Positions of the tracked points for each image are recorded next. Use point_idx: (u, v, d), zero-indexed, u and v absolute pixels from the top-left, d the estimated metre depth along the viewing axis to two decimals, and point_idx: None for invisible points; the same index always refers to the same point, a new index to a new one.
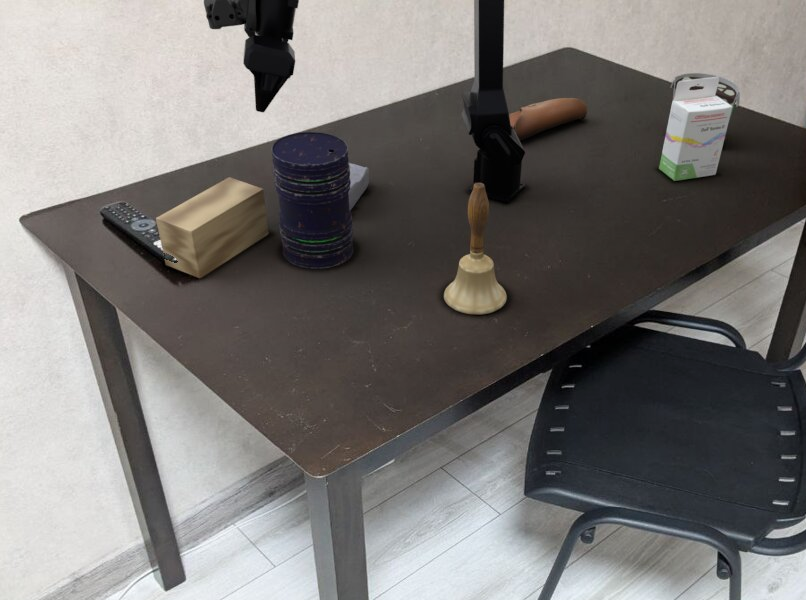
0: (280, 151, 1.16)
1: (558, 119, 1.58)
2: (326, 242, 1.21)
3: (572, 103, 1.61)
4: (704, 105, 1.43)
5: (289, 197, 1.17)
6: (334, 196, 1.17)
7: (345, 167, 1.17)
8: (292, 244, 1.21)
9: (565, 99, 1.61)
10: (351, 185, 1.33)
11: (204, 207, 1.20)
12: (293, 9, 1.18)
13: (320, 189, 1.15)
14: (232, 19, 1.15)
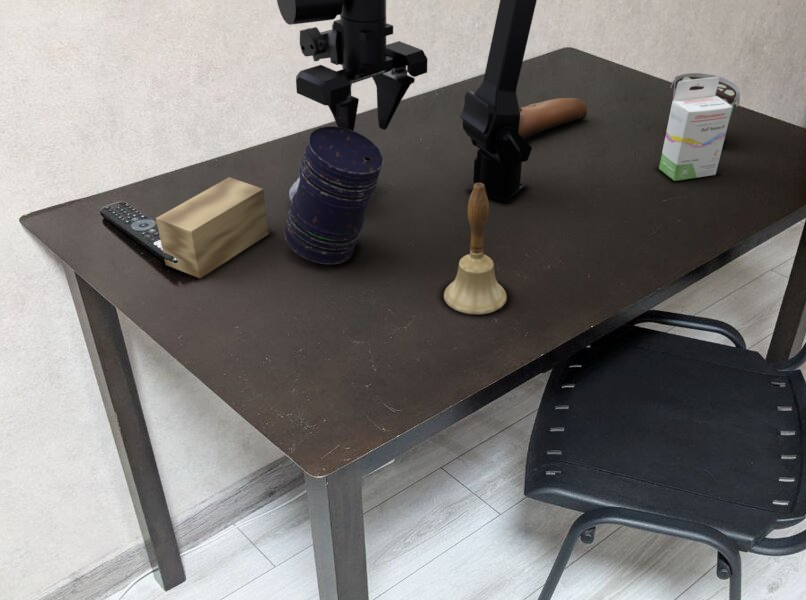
0: (317, 145, 1.14)
1: (558, 119, 1.58)
2: (335, 241, 1.21)
3: (572, 103, 1.61)
4: (704, 105, 1.43)
5: (314, 192, 1.15)
6: (358, 203, 1.17)
7: (376, 178, 1.17)
8: (300, 234, 1.20)
9: (565, 99, 1.61)
10: None
11: (204, 207, 1.20)
12: (369, 43, 1.13)
13: (348, 195, 1.15)
14: (313, 50, 1.16)
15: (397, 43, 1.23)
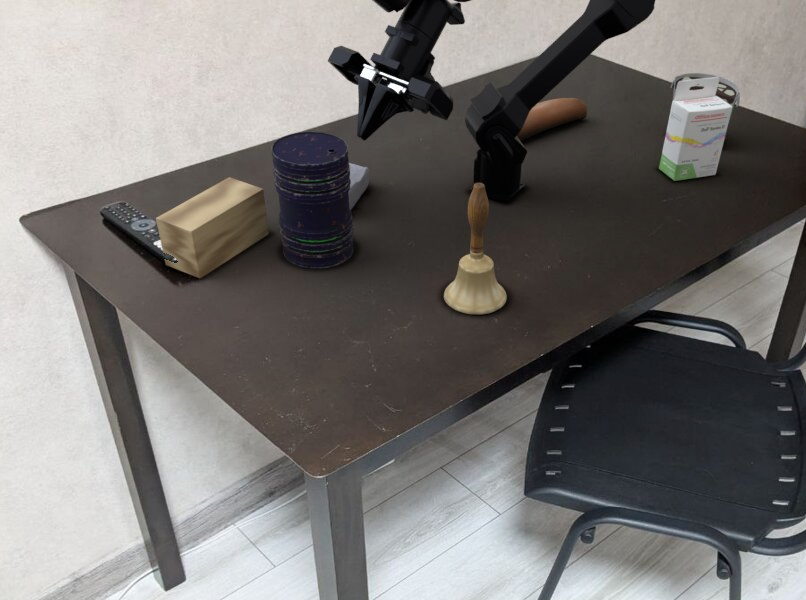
0: (280, 151, 1.16)
1: (558, 119, 1.58)
2: (326, 242, 1.21)
3: (572, 103, 1.61)
4: (704, 105, 1.43)
5: (289, 197, 1.17)
6: (334, 196, 1.17)
7: (345, 167, 1.17)
8: (292, 244, 1.21)
9: (565, 99, 1.61)
10: (351, 185, 1.33)
11: (204, 207, 1.20)
12: (389, 38, 1.21)
13: (319, 189, 1.15)
14: None
15: None
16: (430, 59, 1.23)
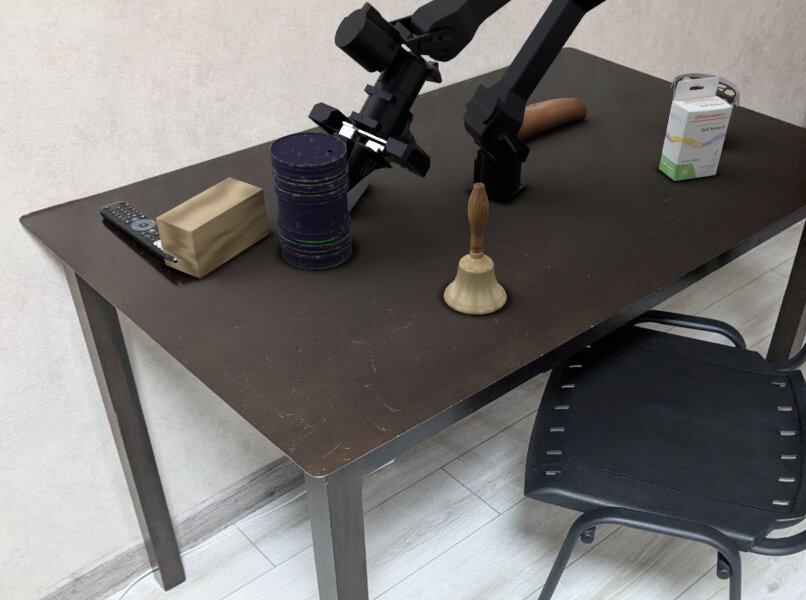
0: (279, 151, 1.16)
1: (558, 119, 1.58)
2: (324, 242, 1.21)
3: (572, 103, 1.61)
4: (704, 105, 1.43)
5: (287, 197, 1.17)
6: (332, 197, 1.17)
7: (343, 168, 1.17)
8: (290, 244, 1.21)
9: (565, 99, 1.61)
10: None
11: (204, 207, 1.20)
12: (368, 97, 1.23)
13: (318, 189, 1.15)
14: None
15: None
16: (409, 117, 1.25)
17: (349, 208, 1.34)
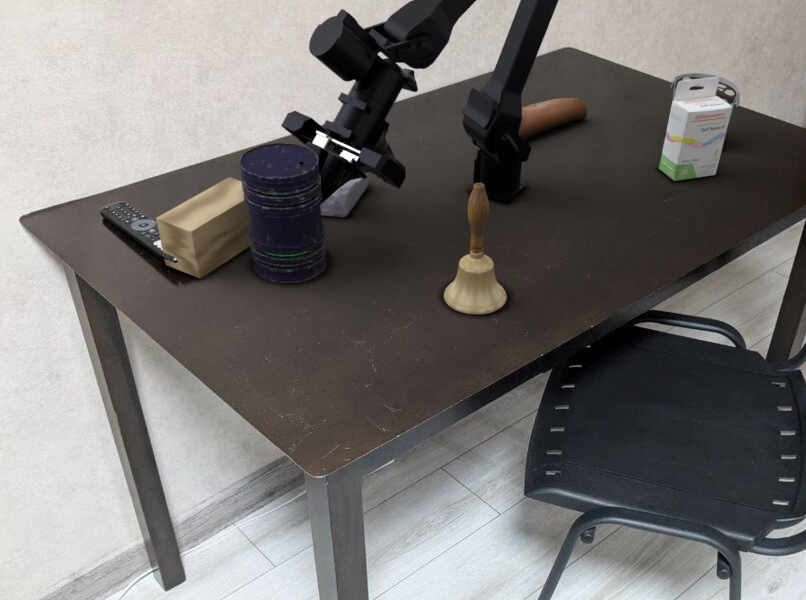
0: (248, 163, 1.13)
1: (558, 119, 1.58)
2: (296, 256, 1.18)
3: (572, 103, 1.61)
4: (704, 105, 1.43)
5: (257, 210, 1.14)
6: (303, 210, 1.14)
7: (315, 180, 1.14)
8: (261, 257, 1.18)
9: (565, 99, 1.61)
10: (351, 185, 1.33)
11: (204, 207, 1.20)
12: (342, 106, 1.20)
13: (288, 202, 1.12)
14: None
15: None
16: (384, 126, 1.22)
17: (349, 208, 1.34)
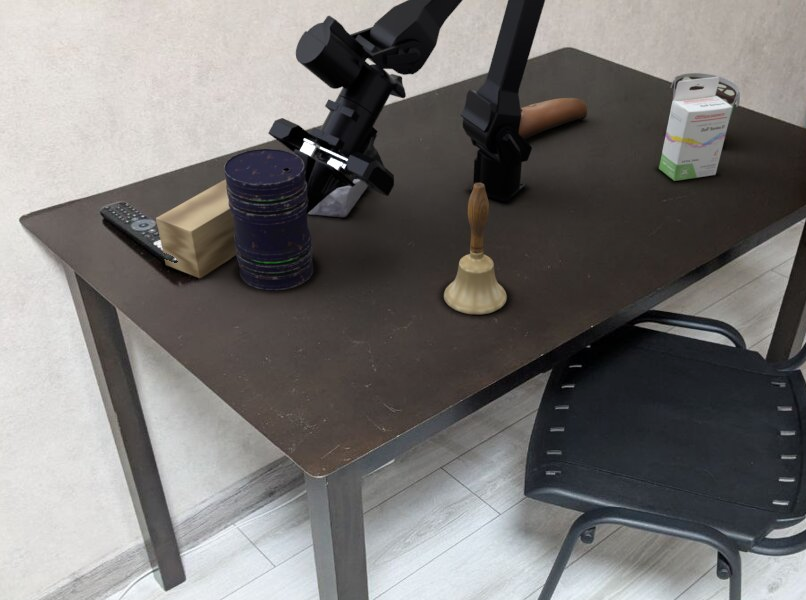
0: (233, 169, 1.11)
1: (558, 119, 1.58)
2: (281, 263, 1.17)
3: (572, 103, 1.61)
4: (704, 105, 1.43)
5: (241, 216, 1.12)
6: (288, 216, 1.13)
7: (300, 187, 1.12)
8: (246, 264, 1.17)
9: (565, 99, 1.61)
10: None
11: (204, 207, 1.20)
12: (329, 113, 1.19)
13: (273, 209, 1.11)
14: None
15: None
16: (372, 133, 1.21)
17: (349, 208, 1.34)
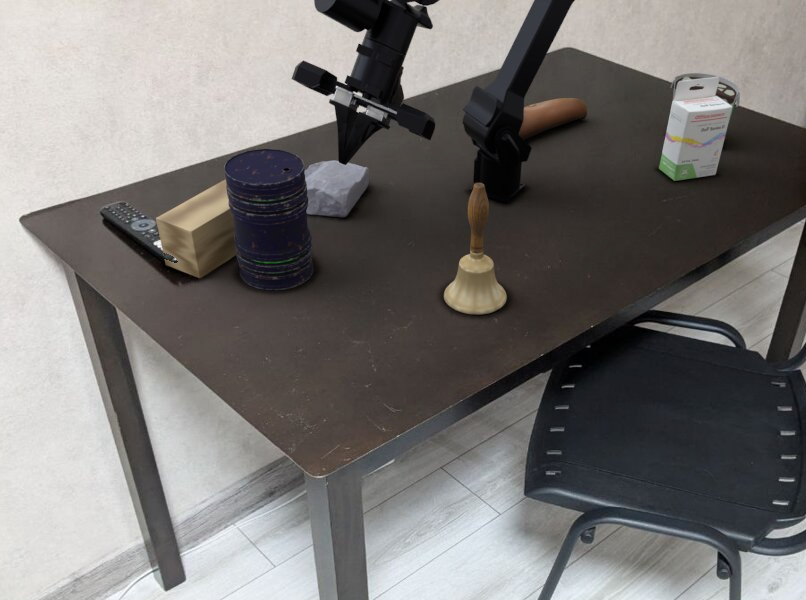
0: (233, 169, 1.11)
1: (558, 119, 1.58)
2: (281, 263, 1.17)
3: (573, 103, 1.61)
4: (704, 105, 1.43)
5: (241, 216, 1.12)
6: (288, 216, 1.13)
7: (300, 187, 1.12)
8: (246, 264, 1.17)
9: (565, 99, 1.61)
10: (351, 185, 1.33)
11: (204, 207, 1.20)
12: (362, 58, 1.16)
13: (273, 209, 1.11)
14: None
15: None
16: (400, 71, 1.20)
17: (349, 208, 1.34)
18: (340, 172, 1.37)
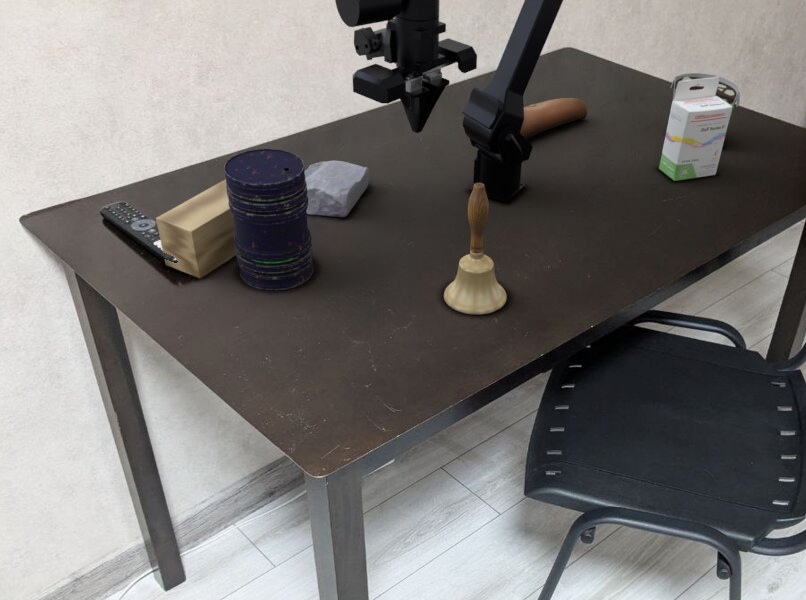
0: (233, 169, 1.11)
1: (559, 119, 1.58)
2: (281, 263, 1.17)
3: (573, 103, 1.61)
4: (704, 105, 1.43)
5: (241, 216, 1.12)
6: (288, 216, 1.13)
7: (300, 187, 1.12)
8: (246, 264, 1.17)
9: (565, 99, 1.61)
10: (351, 185, 1.33)
11: (204, 207, 1.20)
12: (423, 42, 1.16)
13: (273, 209, 1.11)
14: (367, 49, 1.19)
15: (447, 40, 1.25)
16: None
17: (349, 208, 1.34)
18: (340, 172, 1.37)
